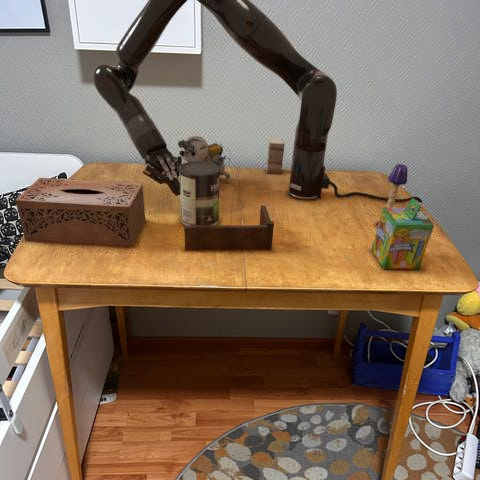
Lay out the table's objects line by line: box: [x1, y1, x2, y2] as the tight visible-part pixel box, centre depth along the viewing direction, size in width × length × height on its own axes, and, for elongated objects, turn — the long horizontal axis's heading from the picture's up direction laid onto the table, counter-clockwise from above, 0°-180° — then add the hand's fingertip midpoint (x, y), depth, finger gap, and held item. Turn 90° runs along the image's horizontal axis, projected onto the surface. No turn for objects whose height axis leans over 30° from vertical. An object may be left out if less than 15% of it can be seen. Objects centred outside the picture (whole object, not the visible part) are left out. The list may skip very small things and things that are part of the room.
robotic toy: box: [177, 135, 232, 183], centre depth 141 cm, size 13×17×15 cm
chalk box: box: [371, 198, 435, 270], centre depth 107 cm, size 9×9×15 cm
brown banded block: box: [265, 138, 286, 175], centre depth 154 cm, size 5×4×10 cm
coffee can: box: [179, 161, 221, 225], centre depth 120 cm, size 10×10×14 cm
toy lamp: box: [376, 163, 408, 228], centre depth 122 cm, size 5×5×17 cm
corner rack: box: [183, 204, 275, 252], centre depth 115 cm, size 21×13×7 cm, turn 96°
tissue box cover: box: [14, 177, 147, 248], centre depth 114 cm, size 26×14×10 cm, turn 88°
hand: (180, 193), depth 125 cm, fingers closed
